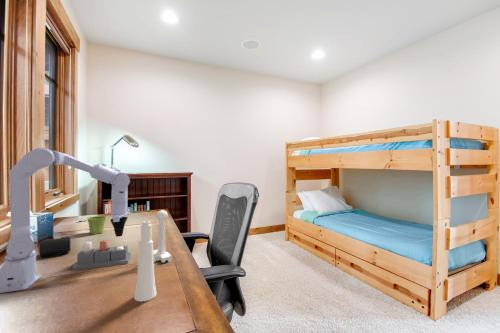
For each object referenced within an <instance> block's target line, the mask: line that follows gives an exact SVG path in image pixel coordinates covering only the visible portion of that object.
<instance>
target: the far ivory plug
mask: <svg viewBox="0 0 500 333" xmlns="http://www.w3.org/2000/svg"><path fill="white" fill-rule="evenodd" d="M123 246H124V245H120V247H117V246H115V247H116V250H121V249H124V247H123Z"/></svg>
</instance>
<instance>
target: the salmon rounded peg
mask: <svg viewBox="0 0 500 333" xmlns="http://www.w3.org/2000/svg"><path fill="white" fill-rule="evenodd" d="M108 247H109V240H108V239H107V240H101V241H99V248H100V252H101V251H108Z"/></svg>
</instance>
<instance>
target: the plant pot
mask: <svg viewBox="0 0 500 333" xmlns="http://www.w3.org/2000/svg"><path fill="white" fill-rule="evenodd" d="M106 219H107V216H106V215H97V216H95V215H94V216H90V217H87V218H86V220H87V223H88V228H89V234H90V235H98V234H103V233H104V229H105V228H104V227H105V223H106Z"/></svg>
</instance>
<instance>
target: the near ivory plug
mask: <svg viewBox="0 0 500 333" xmlns="http://www.w3.org/2000/svg"><path fill="white" fill-rule="evenodd" d="M82 245H83V246H82V247H83V248H82V250H83V253H90V252H92V249H93V241H84V242H83V243H82Z"/></svg>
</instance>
